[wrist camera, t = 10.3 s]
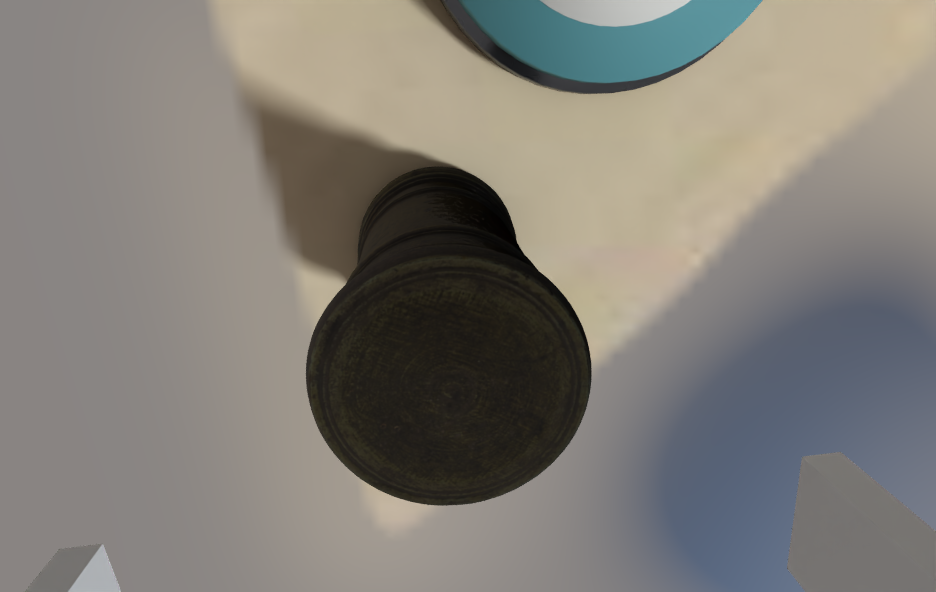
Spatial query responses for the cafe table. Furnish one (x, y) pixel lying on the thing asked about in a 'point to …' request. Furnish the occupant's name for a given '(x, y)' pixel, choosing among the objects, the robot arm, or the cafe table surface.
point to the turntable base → (536, 76)
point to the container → (446, 349)
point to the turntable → (607, 33)
